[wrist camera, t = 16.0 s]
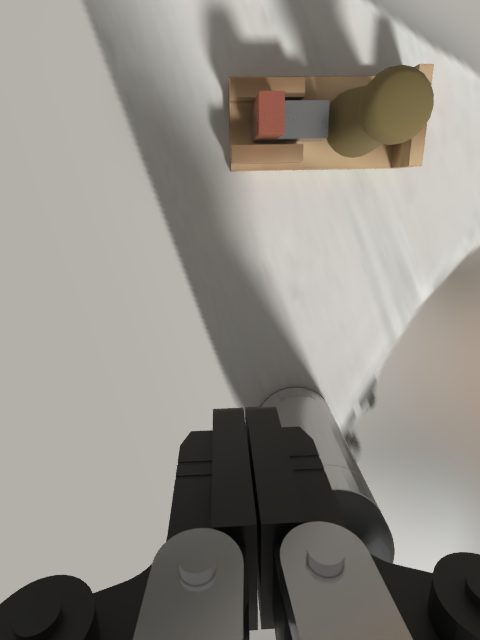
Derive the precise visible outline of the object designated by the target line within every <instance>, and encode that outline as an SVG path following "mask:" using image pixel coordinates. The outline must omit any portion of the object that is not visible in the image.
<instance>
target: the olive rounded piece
mask: <svg viewBox="0 0 480 640" xmlns="http://www.w3.org/2000/svg"><path fill="white" fill-rule="evenodd" d="M433 95H434V94H433V90H432V87H431V83H430V81H429V80H428V79H427V77H426V76H425V74H424V73H423V72H421V71H420V70H418V69H417V68H415V67H411V66H406V65H400V66H393V67H389V68H388V69H386V70H384V71H382V72H380V73H379V74H377V75H376V76H375V77H374V78H373V79H372V80H371V81H370V82H369V83H368V85H366V86H362V87H357V88H353V89H349V90H347V91H345V92H343V93H341V94H339V95H338V96H337V97H336V98H335V99H334V100H333V101H332V102H331V104H330V106H329V125H328V138H327V142H328V144H329V145H330V146H331V148H332V149H333V150H334V151H335V152H337V153H338V154H340V155H342V156H345V157H350V158H355V157H361V156H363V155H365V154H367V153H369V152H371V151H373V150H374V149H376V148H377V147H379V146H380V145H382V144H386V145H393V144H400V143H404V142H406V141H408V140H410V139H412V138H413V137H414V136H415V135H416V134H418V133H419V132H420V131H421V130H422V129H423V128H424V126H425V125H426V123H427V121H428V120H429V118H430V116H431V112H432V109H433Z"/></svg>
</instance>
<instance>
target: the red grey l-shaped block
mask: <svg viewBox="0 0 480 640" xmlns="http://www.w3.org/2000/svg"><path fill="white" fill-rule="evenodd" d="M329 103H330V100H285V91H259V92H258V94H257V96H256V98H255V101H254V103H253V105H252V142H304V141H322V140H324V139H327V138H328V125H329Z"/></svg>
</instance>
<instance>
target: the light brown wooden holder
mask: <svg viewBox="0 0 480 640" xmlns="http://www.w3.org/2000/svg"><path fill="white" fill-rule="evenodd" d="M433 67H434V64H419V65H417V66H415V68H417V69H418V70H420V71H421V72H423V73H424V74H425V76H426V77H427V79H428V80H429V81H430V83H431V84H432V75H433ZM374 77H375V76H311V77H229V122H230V164H231V171H267V170H324V169H380V168H406V167H419V166H422V161H423V152H424V144H425V135H426V127H427V123H426V125H425V126H424V128H423V129H422V130H421V131H420V132H419V133H418V134H416V135H415V136H414V137H413V138H412V139H410V140H408V141H406V142H404V143H400V144H393V145H386V144H382V145H380V146H379V147H377V148H376V149H374V150H373V151H371V152H369V153H367V154H365V155H363V156H361V157H355V158H350V157H345V156H342V155H340V154H338V153H337V152H335V151H334V150H333V149H332V148H331V146H330V145H329V144H328V142H327V139H324V140H322V141H304V142H252V105H253V103H254V101H255V98H256V96H257V94H258V92H259V91H285V100H330V103H329V106H330V104H331V102H332V101H333V100H334V99H335V98H336V97H337V96H338V95H339V94H341V93H343V92H345V91H347V90H349V89H353V88H357V87H362V86H366V85H368V83H369V82H370V81H371V80H372V79H373V78H374Z"/></svg>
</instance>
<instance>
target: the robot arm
mask: <svg viewBox="0 0 480 640" xmlns="http://www.w3.org/2000/svg"><path fill="white" fill-rule="evenodd" d="M393 560H394V543H393V538H392V535H391V532H390V530H389V527H388V525H387V523H386V522H385V519H384V517H383V515H382V513H381V511H380V509H379V507H378V505H377V503H376V501H375V499H374V497H373V495H372V493H371V491H370V489H369V487H368V485H367V484H366V481H365V479H364V477H363V475H362V473H361V471H360V469H359V467H358V465H357V463H356V461H355V459H354V457H353V455H352V453H351V451H350V449H349V447H348V445H347V443H346V441H345V439H344V437H343V435H342V433H341V431H340V429H339V427H338V425H337V423H336V421H335V419H334V417H333V415H332V413H331V411H330V409H329V407H328V405H327V403H326V402H325V400H324V399H323V398H322V397H321V396H320V395H318V394H317V393H315V392H313V391H311V390H309V389H305V388H295V387H294V388H287V389H284V390H281V391H278V392H276V393H275V394H273V395H271V396H270V397H269V398H268V399H267V400H266V401H265V402H264V403H263V404H262V406H261V407H247V408H246V409H245V418H244V410H243V408H228V409H213V431H192V432H190V434H189V435H188V436H187V438H186V439H185V440H184V441H183V443H182V444H181V446H180V451H179V458H178V465H177V472H176V480H175V486H174V493H173V501H172V507H171V514H170V521H169V529H168V536H167V540H166V543H165V544H163V545H162V547H161V548H160V550H159V551H158V552H157V554H156V556H155V557H154V560H153V563H152V565H150V566H149V567H148V568H147V569H146V570H145V571H143V572H142V573H141V574H139V575H137V576H136V577H134V578H132V579H130V580H128V581H125V582H123V583H120V584H118V585H115V586H112V587H109V588H107V589H104V590H101V591H99V592H96V593H92V591H91V589H90V587H89V586H88V585H87V584H86V583H85V582H84V581H82V580H81V579H79V578H76V577H73V576H68V575H55V576H49V577H46V578H42V579H39V580H36V581H34V582H32V583H30V584H28V585H26V586H24V587H23V588H21V589H19V590H18V591H17V592H15V593H14V594H12V595H11V596H10V597H9V598H7V599H6V600H5V601H3V602H2V603H1V604H0V640H249V630H258V607H257V590H258V598H259V599H258V600H259V610H260V619H261V629H273V628H275V634H276V640H480V555H479V554H474V553H465V552H459V553H453V554H449V555H447V556H445V557H443V558H441V559H440V560H439V561H438V562H437V564H436V566H435V568H434V572H433V573H429V572H425V571H421V570H416V569H412V568H408V567H403V566H399V565H395V564H393Z"/></svg>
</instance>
